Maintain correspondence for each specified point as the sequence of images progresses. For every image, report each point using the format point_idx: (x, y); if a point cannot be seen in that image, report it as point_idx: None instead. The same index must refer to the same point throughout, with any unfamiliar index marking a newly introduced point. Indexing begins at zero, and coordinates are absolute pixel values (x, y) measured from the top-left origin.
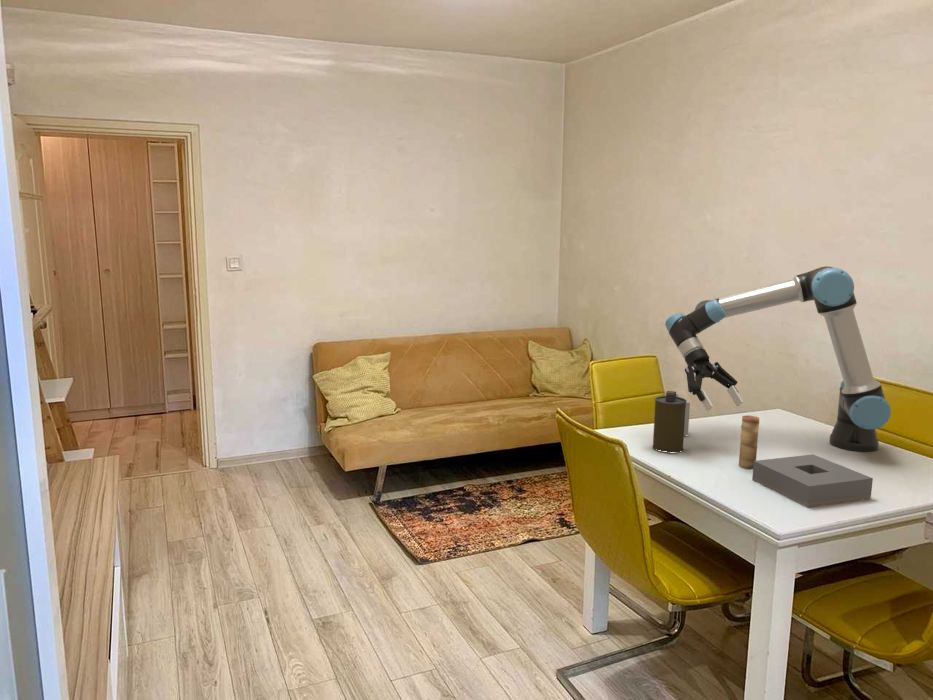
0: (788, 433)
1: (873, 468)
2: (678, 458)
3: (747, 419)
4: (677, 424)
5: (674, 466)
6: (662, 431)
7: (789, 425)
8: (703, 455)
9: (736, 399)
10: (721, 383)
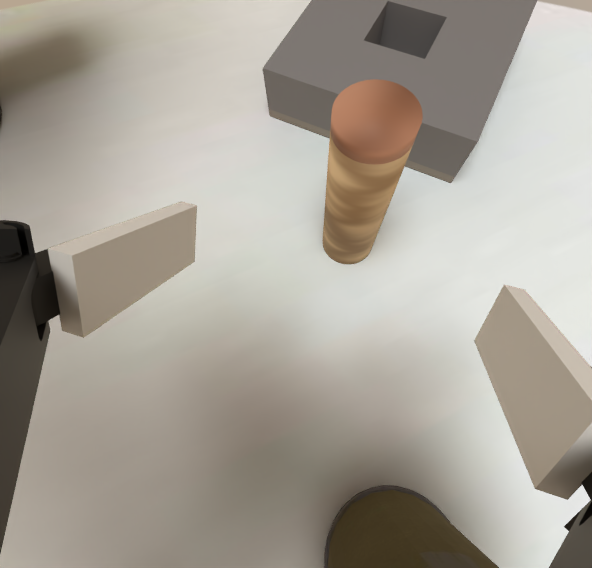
0: None
1: (131, 50)
2: (468, 450)
3: (420, 113)
4: (482, 554)
5: None
6: None
7: None
8: (355, 396)
9: (171, 246)
10: (31, 400)
